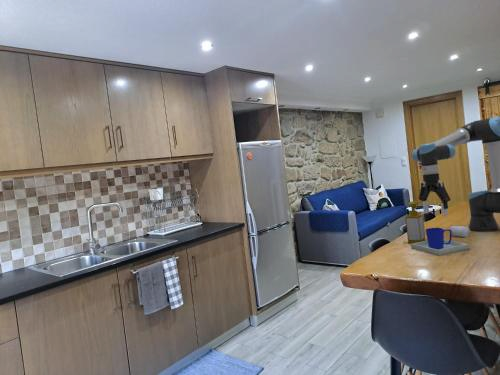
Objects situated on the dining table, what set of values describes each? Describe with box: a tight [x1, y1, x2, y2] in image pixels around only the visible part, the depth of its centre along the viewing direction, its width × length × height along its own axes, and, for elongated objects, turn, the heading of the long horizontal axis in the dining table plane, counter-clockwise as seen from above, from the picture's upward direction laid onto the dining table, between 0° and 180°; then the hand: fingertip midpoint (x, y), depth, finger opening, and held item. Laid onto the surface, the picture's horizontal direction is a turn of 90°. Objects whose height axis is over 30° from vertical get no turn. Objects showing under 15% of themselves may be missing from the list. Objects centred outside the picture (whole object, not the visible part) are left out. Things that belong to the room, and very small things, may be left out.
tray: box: [410, 238, 470, 256], centre depth 188 cm, size 18×20×3 cm
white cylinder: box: [449, 225, 471, 238], centre depth 209 cm, size 6×6×8 cm
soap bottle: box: [404, 201, 427, 245], centre depth 209 cm, size 7×13×24 cm, turn 137°
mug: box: [425, 227, 453, 249], centre depth 187 cm, size 8×12×10 cm
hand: (435, 214), depth 188 cm, fingers open, 13 cm apart
